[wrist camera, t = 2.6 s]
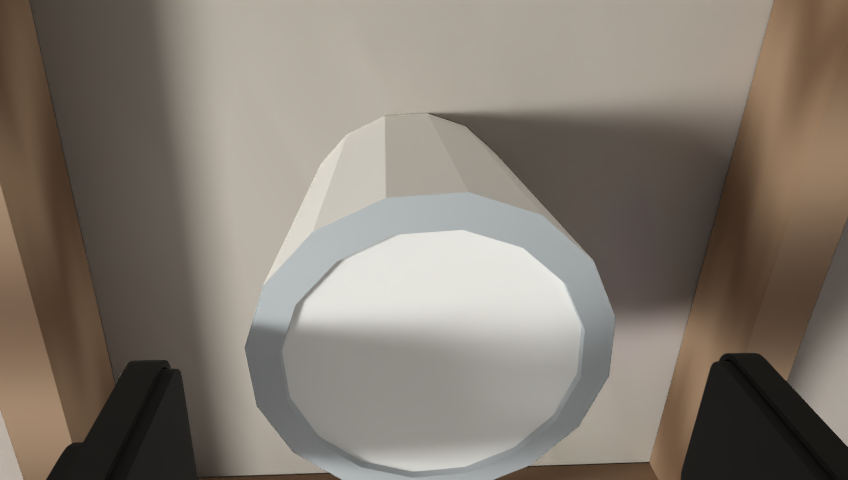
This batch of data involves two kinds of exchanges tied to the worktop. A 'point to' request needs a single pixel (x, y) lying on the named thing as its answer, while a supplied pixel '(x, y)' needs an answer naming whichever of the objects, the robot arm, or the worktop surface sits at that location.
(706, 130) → the worktop surface
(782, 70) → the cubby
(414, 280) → the white cup
